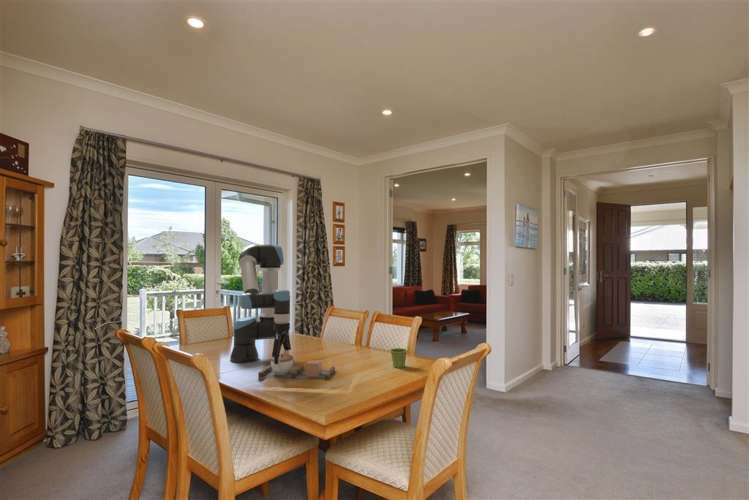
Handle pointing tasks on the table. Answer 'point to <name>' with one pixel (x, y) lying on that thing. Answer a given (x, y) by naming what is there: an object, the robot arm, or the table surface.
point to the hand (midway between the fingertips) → (281, 367)
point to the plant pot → (398, 357)
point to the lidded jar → (283, 364)
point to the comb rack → (294, 374)
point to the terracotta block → (313, 368)
